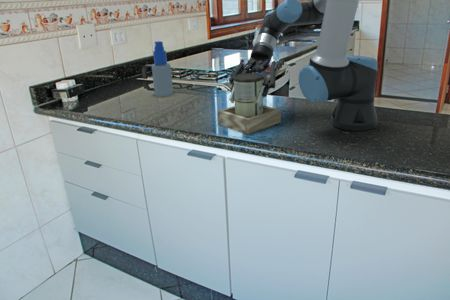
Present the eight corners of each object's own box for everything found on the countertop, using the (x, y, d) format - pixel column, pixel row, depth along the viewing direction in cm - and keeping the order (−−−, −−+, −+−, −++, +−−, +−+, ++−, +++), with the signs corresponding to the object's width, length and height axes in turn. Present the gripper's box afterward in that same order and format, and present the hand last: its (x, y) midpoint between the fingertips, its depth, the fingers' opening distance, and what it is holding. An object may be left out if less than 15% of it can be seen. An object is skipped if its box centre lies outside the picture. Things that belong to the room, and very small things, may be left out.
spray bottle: (157, 97, 178) (151, 43, 168) (152, 93, 186) (146, 41, 176) (175, 94, 181) (170, 41, 172) (170, 91, 189) (164, 39, 179)
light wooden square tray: (280, 123, 134) (281, 109, 132) (248, 134, 125) (247, 120, 123) (250, 114, 146) (250, 101, 144) (218, 124, 137) (217, 110, 135)
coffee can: (235, 111, 140) (234, 73, 134) (263, 110, 139) (263, 72, 133) (233, 119, 130) (232, 79, 125) (263, 119, 129) (263, 78, 124)
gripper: (295, 57, 134) (277, 111, 128) (239, 54, 145) (220, 104, 139) (290, 43, 128) (271, 100, 121) (232, 42, 139) (212, 94, 132)
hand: (244, 102), depth 130 cm, fingers closed on coffee can, 10 cm apart
